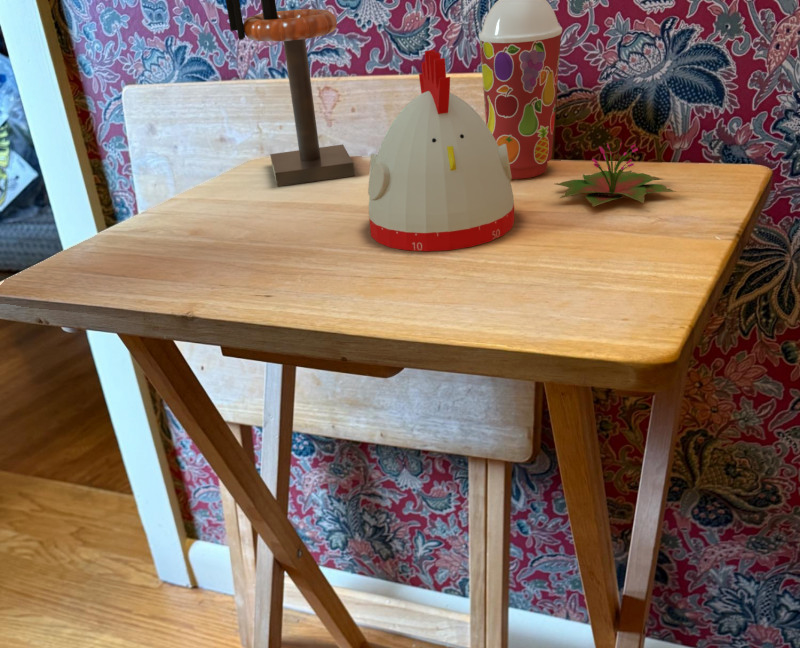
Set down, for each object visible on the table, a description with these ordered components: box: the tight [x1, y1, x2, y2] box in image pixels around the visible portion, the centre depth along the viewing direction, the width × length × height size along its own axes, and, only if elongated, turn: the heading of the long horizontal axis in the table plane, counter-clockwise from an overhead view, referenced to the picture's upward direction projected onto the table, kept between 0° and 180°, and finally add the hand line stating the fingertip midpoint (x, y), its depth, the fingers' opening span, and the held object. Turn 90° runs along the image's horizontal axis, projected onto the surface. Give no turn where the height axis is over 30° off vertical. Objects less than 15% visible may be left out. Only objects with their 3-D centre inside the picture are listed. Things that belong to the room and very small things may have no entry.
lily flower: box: [555, 141, 678, 208], centre depth 88 cm, size 12×12×5 cm
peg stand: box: [269, 39, 356, 187], centre depth 101 cm, size 9×9×14 cm
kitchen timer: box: [367, 49, 515, 252], centre depth 81 cm, size 14×14×15 cm
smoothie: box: [477, 0, 563, 180], centre depth 92 cm, size 8×8×20 cm
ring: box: [243, 8, 338, 42], centre depth 96 cm, size 10×10×2 cm
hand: (255, 34), depth 96 cm, fingers closed on ring, 2 cm apart
